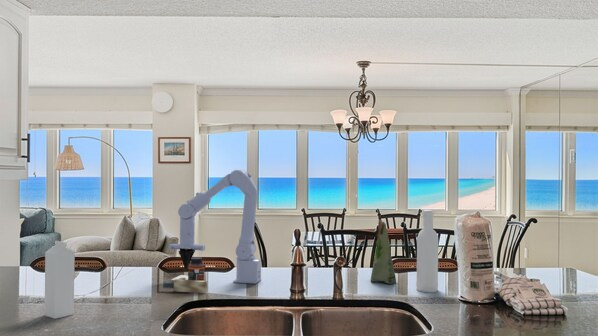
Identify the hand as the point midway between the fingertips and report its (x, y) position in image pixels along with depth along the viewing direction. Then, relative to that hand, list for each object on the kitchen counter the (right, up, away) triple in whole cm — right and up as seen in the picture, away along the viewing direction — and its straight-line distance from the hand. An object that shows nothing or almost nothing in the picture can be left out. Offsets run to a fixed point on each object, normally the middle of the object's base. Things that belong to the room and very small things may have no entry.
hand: (186, 267), depth 208 cm
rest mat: (0, -4, 0) cm, 4 cm away
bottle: (+93, -6, -13) cm, 94 cm away
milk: (-27, -4, -53) cm, 59 cm away
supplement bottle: (+7, -5, -16) cm, 18 cm away
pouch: (+78, -6, 0) cm, 79 cm away
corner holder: (+6, -5, -19) cm, 21 cm away
